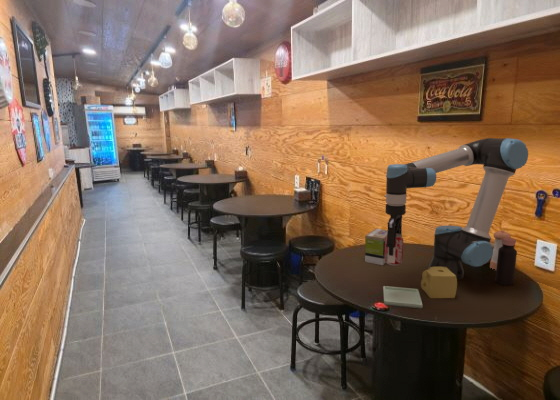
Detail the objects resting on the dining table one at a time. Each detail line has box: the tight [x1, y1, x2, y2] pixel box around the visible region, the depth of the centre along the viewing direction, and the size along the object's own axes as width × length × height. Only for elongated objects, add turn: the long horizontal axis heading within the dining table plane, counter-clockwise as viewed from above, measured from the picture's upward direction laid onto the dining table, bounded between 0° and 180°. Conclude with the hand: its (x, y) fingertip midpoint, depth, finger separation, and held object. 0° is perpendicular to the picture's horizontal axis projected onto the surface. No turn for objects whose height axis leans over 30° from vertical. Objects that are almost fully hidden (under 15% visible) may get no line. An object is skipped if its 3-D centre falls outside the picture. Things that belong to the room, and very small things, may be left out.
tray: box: [382, 285, 423, 309], centre depth 143 cm, size 14×14×2 cm
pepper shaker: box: [489, 230, 512, 271], centre depth 170 cm, size 7×7×19 cm
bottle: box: [494, 237, 518, 286], centre depth 154 cm, size 7×7×20 cm
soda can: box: [385, 233, 404, 267], centre depth 142 cm, size 7×7×12 cm
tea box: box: [364, 228, 388, 266], centre depth 185 cm, size 15×10×15 cm, turn 144°
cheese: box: [420, 267, 458, 299], centre depth 146 cm, size 10×11×10 cm
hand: (393, 259), depth 143 cm, fingers closed on soda can, 7 cm apart
